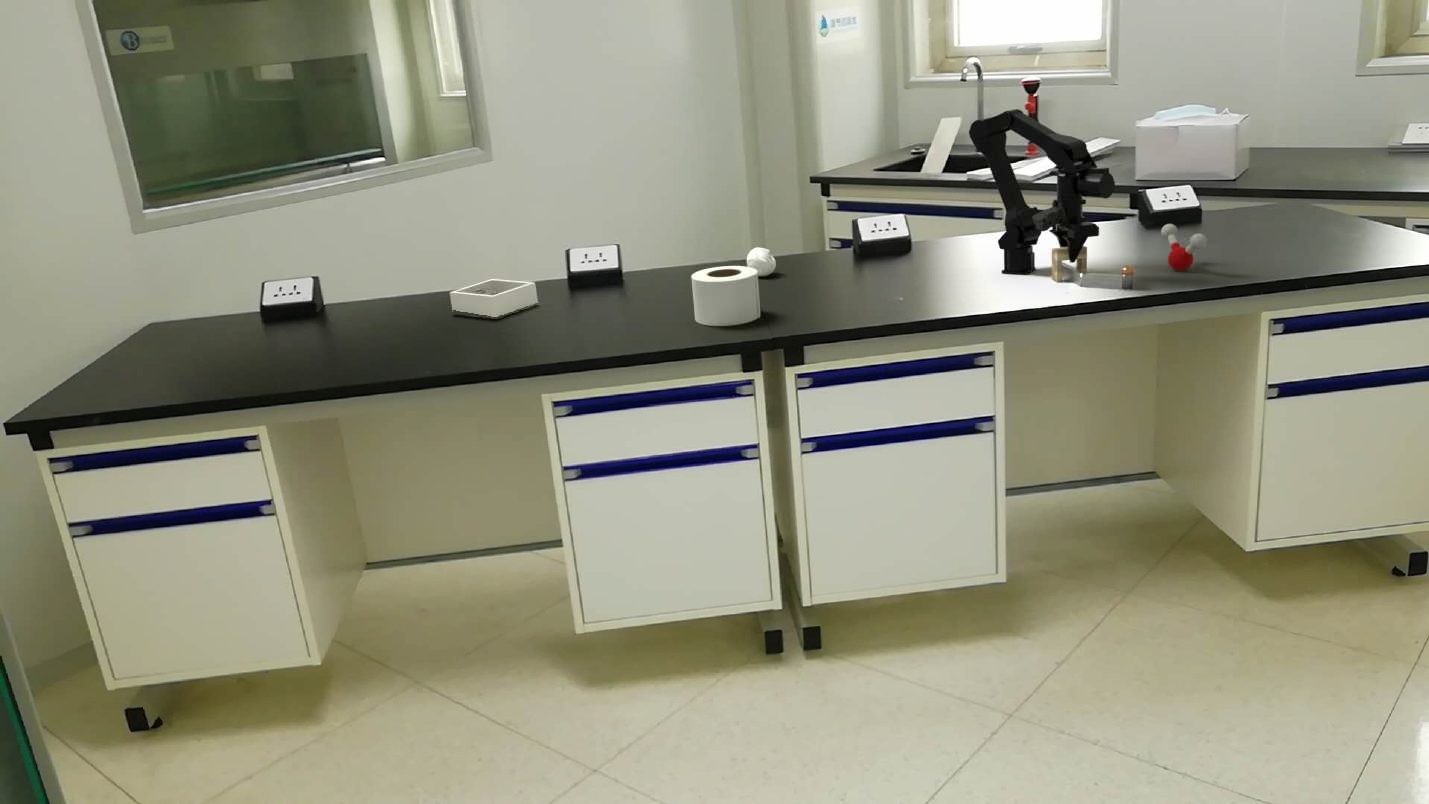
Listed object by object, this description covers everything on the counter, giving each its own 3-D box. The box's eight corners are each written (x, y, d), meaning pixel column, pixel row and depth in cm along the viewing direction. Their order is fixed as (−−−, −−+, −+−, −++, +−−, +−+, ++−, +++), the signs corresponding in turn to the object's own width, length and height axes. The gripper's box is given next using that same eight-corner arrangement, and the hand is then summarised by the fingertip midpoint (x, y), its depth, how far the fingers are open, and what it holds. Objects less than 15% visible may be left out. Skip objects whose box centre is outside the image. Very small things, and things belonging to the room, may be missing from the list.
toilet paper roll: (774, 312, 273) (770, 267, 269) (731, 329, 262) (727, 282, 259) (724, 306, 283) (720, 263, 279) (681, 322, 272) (677, 277, 269)
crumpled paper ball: (773, 279, 306) (771, 250, 303) (745, 280, 307) (743, 251, 305) (778, 272, 313) (776, 243, 311) (750, 273, 315) (748, 245, 312)
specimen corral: (453, 315, 300) (449, 292, 298) (495, 300, 311) (492, 278, 309) (496, 320, 291) (492, 296, 289) (538, 305, 302) (535, 282, 300)
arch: (1051, 279, 278) (1051, 248, 276) (1081, 275, 279) (1081, 244, 276) (1057, 282, 275) (1057, 250, 273) (1086, 278, 276) (1087, 247, 274)
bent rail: (1040, 278, 281) (1040, 256, 279) (1060, 273, 283) (1060, 251, 282) (1115, 293, 261) (1115, 270, 259) (1135, 288, 263) (1136, 265, 262)
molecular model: (1209, 276, 267) (1211, 233, 264) (1186, 279, 267) (1188, 236, 264) (1173, 261, 284) (1175, 221, 281) (1151, 264, 284) (1153, 223, 280)
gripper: (1020, 193, 279) (1021, 257, 284) (1053, 205, 261) (1053, 273, 266) (1064, 188, 280) (1064, 252, 285) (1100, 199, 262) (1099, 267, 267)
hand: (1069, 261), depth 276 cm, fingers closed on arch, 3 cm apart
